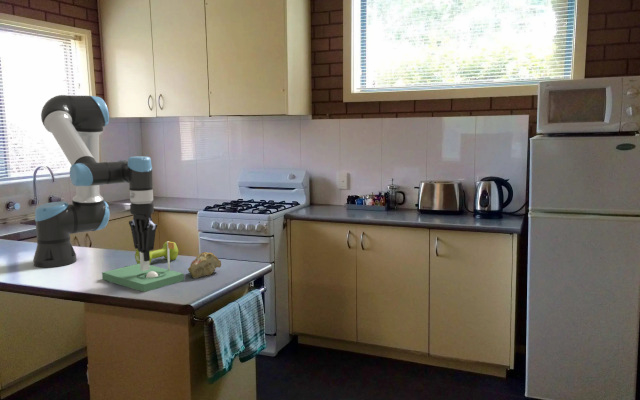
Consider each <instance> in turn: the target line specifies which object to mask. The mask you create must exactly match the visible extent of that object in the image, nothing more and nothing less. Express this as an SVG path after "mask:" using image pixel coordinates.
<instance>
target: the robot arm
mask: <svg viewBox="0 0 640 400" xmlns="http://www.w3.org/2000/svg"><path fill="white" fill-rule="evenodd" d="M40 116H41V119H40V120H41V122H42V125H43V127H44V128H45V130H47V132H48V133H50V134H52V135H53V138H54V139H55V141H56V142H57V144H58V146H59V148H60V149H61V150H62V152H63V155H65V157H66V159H67V161H68V162H69V164H70V165H71V166H70V169H69V178H70V181H71V183H72V185H74V186H75V189H76V191H75V193H76V195H75V196H73V197H72V201H71V203H72V204H69V203H68V202H67V201H64V200H61V201H54V202H52V201H51V202H48V203H43V204H41V205H39V206H37V207H36V208H35V210H34V212H35V213H34V221H35V230H36V231H35V233H36V243H37V244H36V248H35V252H34V255H33V258H32V259H33V266H35V267H39V268H55V267H56V268H57V267H62V266H68V265H71V264H74V263H76V262H77V253H76V251H75V249H74V247H73V245H72V241H71V235H72V234H73V235H74V234H78V233H79V234H80V233H88V232H95V231H99V230H104V229H105V228H106V226H107V225H108V223H109V220H110V215H111V214H110V207H109V204H108V203H107V201H104V197H103V196H102V195H101V193H100V186H102V185H115V184H125V183H126V184H128V186H129V188H128V189H129V201H130V202H131V203H130V204H129V207H130V214H131V215H133V217H132V220H129V221H128V225H129V227H130V231H131V236H132V242H133V247H134V249H135V250H137V249H138V251H139V259H140V270H141V271H145V270H149V269H150V265H151V263H150V264H149V260H150V257H149V256H150V254H149V252H151V251H154V250H155V240H156V230H157V229H158V224H157V223H154V222H153V218H152V214H154V211H155V210H154V209H155V207H154V203H153V201H154V189H153V166H152V158H151V157H150V156H144V155H142V156H141V155H137V156H130V157H128V159H127V160H125V159H123V160H118V161H104V162H100V136H101V134H103V132H104V127H107V126H108V125H109V121H110V113H109V108H108V106H107V104H106V102H105V100H104V99H103V98H102V97H100V96H97V95H96V96H95V95H65V94H61V95H55V96H54V97H51V98H50V99H48V100H47V101H46V102H45V104H44V105H43V107H42V109H41V113H40Z"/></svg>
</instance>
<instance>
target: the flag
mask: <svg viewBox="0 0 640 400" xmlns="http://www.w3.org/2000/svg"><path fill="white" fill-rule="evenodd" d="M166 242H167V258H168V260H167V269H168V271H170V270H171V265H170V264H171V260H170V257H169V248H170V249H174V243H175V242H174V243H172V242H173V241H170V242H169V241H168V240H167V241H166Z"/></svg>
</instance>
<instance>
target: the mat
mask: <svg viewBox="0 0 640 400" xmlns="http://www.w3.org/2000/svg"><path fill="white" fill-rule="evenodd" d="M151 271H154V272H156V273H157V274H158V276H157V277H152V278H146V275H147V274H148V273H149V272H151ZM101 275H102V280H103V281H106V282H110V283H114V284H117V285H120V286H123V287H126V288H129V289H130V288H131V289H133V290H135V291H140V292H143V293H145V292H149V291H153V290H156V289H160V288H162V287H166V286H170V285H172V284H173V285H174V284H177V283H180V282H183V281H184V282H185V279H184V278H185V276H184V275H185V274H184V273H183V272H179V271H175V270H171V269H170V271H168V268H162V267H158V266H156V265H151V264H150V269H149V270H145V271H141V270H140V263H139V264H137V263H136V264H131V265H127V266H123V267H119V268H115V269H112V270H107V271H103V272H101Z"/></svg>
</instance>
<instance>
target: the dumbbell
mask: <svg viewBox="0 0 640 400" xmlns="http://www.w3.org/2000/svg"><path fill="white" fill-rule="evenodd" d="M169 242H172V243H174V249H170V248H169V257H170V261H174V260H176V259H177V257H178V255H179V248H178V246H177V243H176V242H174V241H169ZM135 250H136V251H135V253H134V258H135V262H136V264H139V263H140V259H139V251H138V249H135ZM149 254H150V256H149V257H150V260H149V264H150V265H151V263H152V260H153V259H159V258H162V257H164V259H165V260H167V261H168V258H167V241H165V242H164V243H163V245H162V248H159V249H153V250H151V251H150V252H149Z"/></svg>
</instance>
